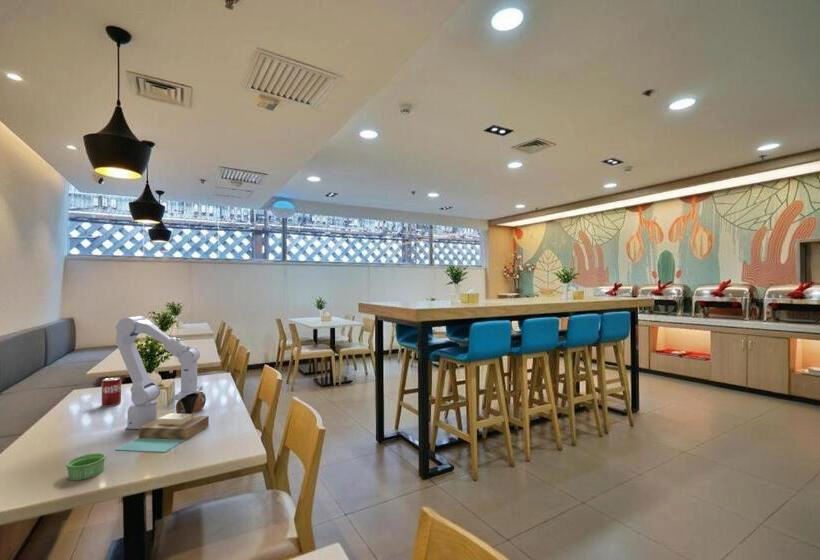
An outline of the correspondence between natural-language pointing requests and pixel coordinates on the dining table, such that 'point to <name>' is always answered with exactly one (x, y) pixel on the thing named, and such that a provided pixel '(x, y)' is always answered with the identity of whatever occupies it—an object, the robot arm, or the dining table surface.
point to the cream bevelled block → (174, 419)
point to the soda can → (111, 391)
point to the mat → (150, 445)
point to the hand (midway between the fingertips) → (189, 412)
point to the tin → (197, 407)
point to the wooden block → (174, 429)
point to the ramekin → (85, 466)
